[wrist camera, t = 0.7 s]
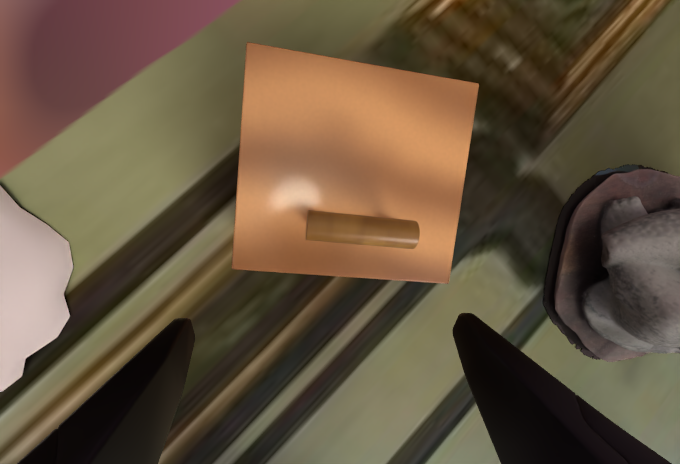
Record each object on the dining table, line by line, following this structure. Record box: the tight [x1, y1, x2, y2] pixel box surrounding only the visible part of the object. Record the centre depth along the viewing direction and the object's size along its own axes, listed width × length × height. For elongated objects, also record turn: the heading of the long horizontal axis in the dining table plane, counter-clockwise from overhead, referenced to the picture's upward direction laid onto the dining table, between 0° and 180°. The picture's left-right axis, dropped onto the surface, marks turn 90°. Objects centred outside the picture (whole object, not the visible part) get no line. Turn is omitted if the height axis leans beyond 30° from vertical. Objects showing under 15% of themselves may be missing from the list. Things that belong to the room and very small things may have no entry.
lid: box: [232, 42, 479, 284], centre depth 17 cm, size 13×15×5 cm
